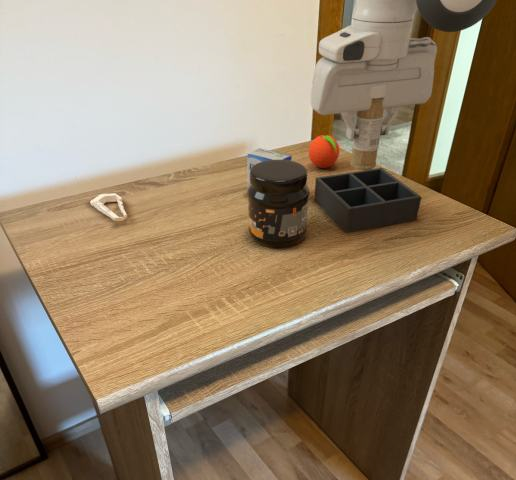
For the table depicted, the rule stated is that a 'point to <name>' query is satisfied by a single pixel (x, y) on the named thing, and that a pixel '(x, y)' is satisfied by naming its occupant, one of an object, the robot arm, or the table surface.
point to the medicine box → (263, 158)
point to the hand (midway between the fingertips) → (366, 136)
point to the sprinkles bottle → (368, 131)
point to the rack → (366, 199)
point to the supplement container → (278, 203)
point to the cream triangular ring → (99, 205)
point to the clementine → (323, 151)
